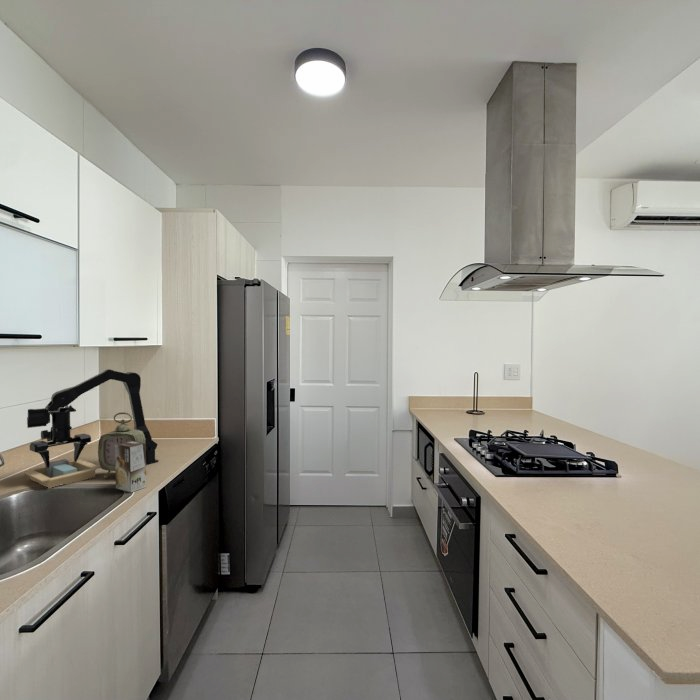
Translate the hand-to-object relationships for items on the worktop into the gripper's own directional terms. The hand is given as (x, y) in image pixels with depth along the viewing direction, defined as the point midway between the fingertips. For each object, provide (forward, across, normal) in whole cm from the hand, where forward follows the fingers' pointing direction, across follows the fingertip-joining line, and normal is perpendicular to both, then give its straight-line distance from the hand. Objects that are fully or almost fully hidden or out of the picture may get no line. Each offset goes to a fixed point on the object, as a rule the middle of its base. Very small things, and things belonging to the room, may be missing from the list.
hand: (61, 464), depth 156 cm
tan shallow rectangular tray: (+5, 0, +1) cm, 5 cm away
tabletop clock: (+5, -14, +18) cm, 24 cm away
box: (+5, 0, +1) cm, 5 cm away
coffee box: (+5, -9, +33) cm, 35 cm away
